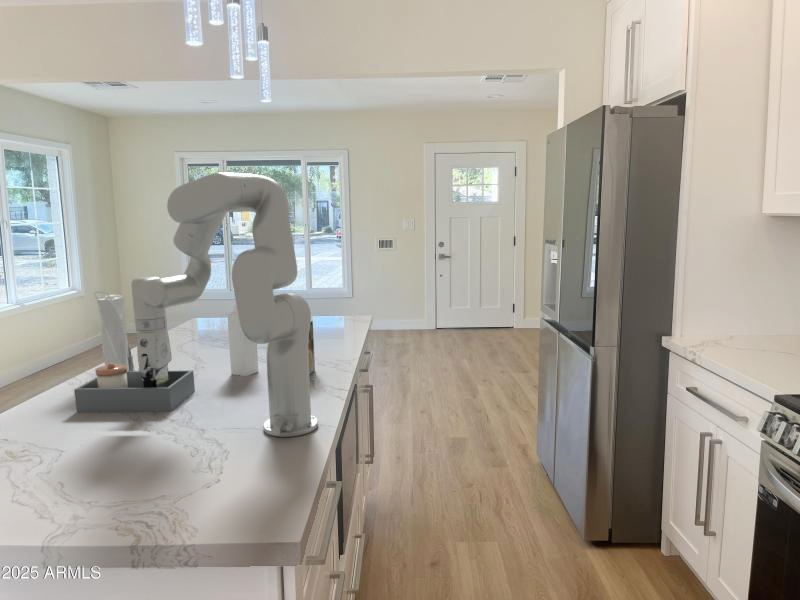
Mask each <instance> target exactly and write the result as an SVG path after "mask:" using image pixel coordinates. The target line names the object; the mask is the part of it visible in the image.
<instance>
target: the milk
mask: <svg viewBox="0 0 800 600" xmlns="http://www.w3.org/2000/svg"><path fill="white" fill-rule="evenodd" d="M227 328H228V329H227V331H228V332H227V333H228V341H229V342H228V344H229V359H230V360H229V361H230V373H231V375H232V374H233V376H239V375H240V376H241V377H247V376H250V374H251V375H253V374H255V373H259V358H258V355H259V354H258V344H257V343H254V342H252V341H250V340H249V339H248V338H247V337H246V336H245V334H244V333H243V331H242V328H241V325H240V321H239V316H238V311H237V305H236V304H235V305H234V306H233V311H231V312H230V313H229V314H227Z"/></svg>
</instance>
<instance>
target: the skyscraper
mask: <svg viewBox="0 0 800 600" xmlns="http://www.w3.org/2000/svg"><path fill="white" fill-rule="evenodd" d="M93 294H94V297H95V299H96V303H97V309H98V311H99V316H100V320H101V348H102V356H103V361H104V366H106V365H108V364H109V363H113V364H123V365H126V366H127V371H136V369H135V365H134V355H132V349H131V348H132V346H131V345H130V344H131V343H130V341H129V340H128V335H127V330H126V327H125V324H124V321H123V320H124V311H125V310H124V309H125V308H124V307H125V296H124V295H122V294H118V293H117V294H115V293H113V294H108V293H107V292H105V291H98V290H97V291H94V292H93ZM97 294H102V295H104V298H99V299H98V296H97Z"/></svg>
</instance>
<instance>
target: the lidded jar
mask: <svg viewBox="0 0 800 600" xmlns="http://www.w3.org/2000/svg"><path fill="white" fill-rule="evenodd" d="M94 372H95V376H96V377H97V382H98V388H128V383H127V366H126V365H123V364H113V363H109V364H108V365H106V366H105V365H103V366H99V367H97V368H95V371H94Z"/></svg>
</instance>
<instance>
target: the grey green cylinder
mask: <svg viewBox="0 0 800 600" xmlns="http://www.w3.org/2000/svg"><path fill="white" fill-rule="evenodd" d="M147 368H151V366H149V367H147ZM168 371H169V369H168V370H167V365H165V366H163V367H162V368H160V369H158V370H155V380H156V381H157V387H169V379H168ZM147 372H149V373H150V375H151V371H147Z"/></svg>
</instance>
